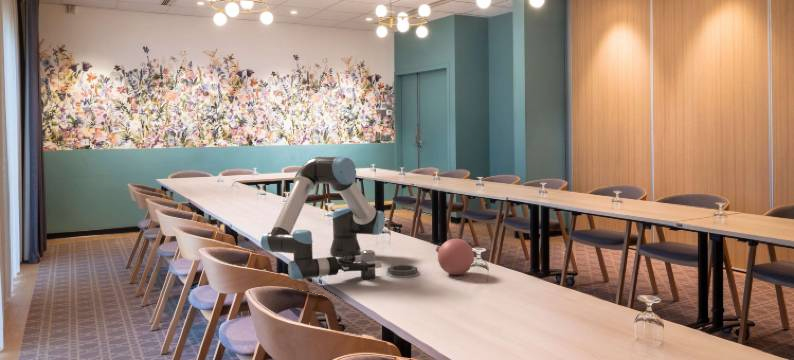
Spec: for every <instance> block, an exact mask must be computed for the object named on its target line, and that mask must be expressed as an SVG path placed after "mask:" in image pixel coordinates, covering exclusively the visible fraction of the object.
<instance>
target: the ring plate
mask: <svg viewBox="0 0 794 360" xmlns="http://www.w3.org/2000/svg"><path fill="white" fill-rule="evenodd" d="M386 275H387V276H388V277H391V278H398V279H399V278H413V277H417V276H418V275H420V272H419V270H418V267H416V266H415V265H414V264H413V265H411V264H396V265H391V266H389V267H388V268H387V272H386Z"/></svg>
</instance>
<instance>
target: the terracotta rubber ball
mask: <svg viewBox="0 0 794 360" xmlns="http://www.w3.org/2000/svg"><path fill="white" fill-rule="evenodd" d="M472 249H473V247H472V245H470V244H469V242H467V241H466V240H464V239H460V238H451V239H448V240H446V241H445V242H443V243H442V244H441V245H437V246H436V249H435V251H436V253H437V261H438V264H439V266H440V268H441V269H442V270H443V271H444V272H446V274H449V275H452V276H460V275H465V273H467V272H469V270H470V269H471V268H472V267H471V264H472V263H473V264H474V261H475V253H474V250H473V251H471V250H472ZM470 267H471V268H470Z"/></svg>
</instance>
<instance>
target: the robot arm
mask: <svg viewBox="0 0 794 360" xmlns="http://www.w3.org/2000/svg"><path fill="white" fill-rule="evenodd" d="M356 177H357V170H356V165H355V162H354V161H353V160H352V159H351V158H349V157H345V156H315V157H312V158H310V159H309V160H307V162H305V163H303V165H302V166H301V167H300V168H299V169H298V170H297V172H296V174H295V176H294V178H293V185H292V187H291V189H290V192H289V194H288V196H287V199H286V200H285V203H284V204H283V207H282V209H281V210H280V213H279V214H278V217H277V219H276V221H275V223H274V226H273V227H272V230H271V231H270V232H265V233H264V234H262V237H261V238H260V247H261V248H262V250H263V251H265V252H271V253H285V254H293V260H290V261H289V262H288V264H287V265H288V266H287V271H288V276H289V278H290V279H291V280H295V281H296V280H306V279H312V278H314V279H315V278H319V279H322V277H327V276H329V277H330V276H337V275H338V273H339V271H340V270H341V271H342V272H343V273H344V272H345V273H346V272H358V271H359V272H361V271H366V272H367V271H368V269H374V268H375V269H379V268H383V261H382V260H375V261H374V262H366V263H361V252H362V249H361V246H360V242H359V240H358V238H357V237H358V235H357V234H359V235H372V236H379V235H381V233H382V232H383V231H384V228H385V223H386V217H385V215H386V214H385V212H384V211H383V210H382V211H381V210H377V209H376V208H375V206H374V205H373V204H370V203H369V202H368V201H367V199H366V198H365V196H364V194H363V192H362V191H361V190H360V188H359V185H357V183H356V181H355V180H356ZM318 184H326V185H327V184H328V185H329V186H330V187H331V188H332V190H333V191H335V192H338V193H339V195H340V196H341V198H342V199H343V201H344V202H345V204H346V205H347V206H346V207H339V208H336V209H334V210H333V212H332V231H333V233H332V235H333V236H332V237H333V238H332V242H331V245H330V249H329V254H330V256H327V257H316V258H314V257H313V256H314V255H313V243H314V241H313V236H312V235H313V234H312V232H311V230H309V229H297V230H294V228H295V225H296V223H297V220H298V218H299V216H300V214H301V212H302V210H303V207H304V205H305V204H306V200H307V198H308V196H309V194H310V192H311V191H313V190H314V189H315V187H316V186H317V185H318ZM292 231H293V232H292ZM337 257H338V258H337ZM364 266H365V268H364Z"/></svg>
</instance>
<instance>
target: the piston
mask: <svg viewBox="0 0 794 360" xmlns="http://www.w3.org/2000/svg"><path fill="white" fill-rule="evenodd" d="M360 256H361V262H360V263H366V262H374V261H376V252H375V251H374V250H371V249H367V250H366V249H365V250H361V253H360ZM364 268H365V266H364ZM360 279H361V280H364V281H370V280H371V279H372V280H375V279H376V268H374V269H368V271H367V272H366V271H360Z"/></svg>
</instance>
